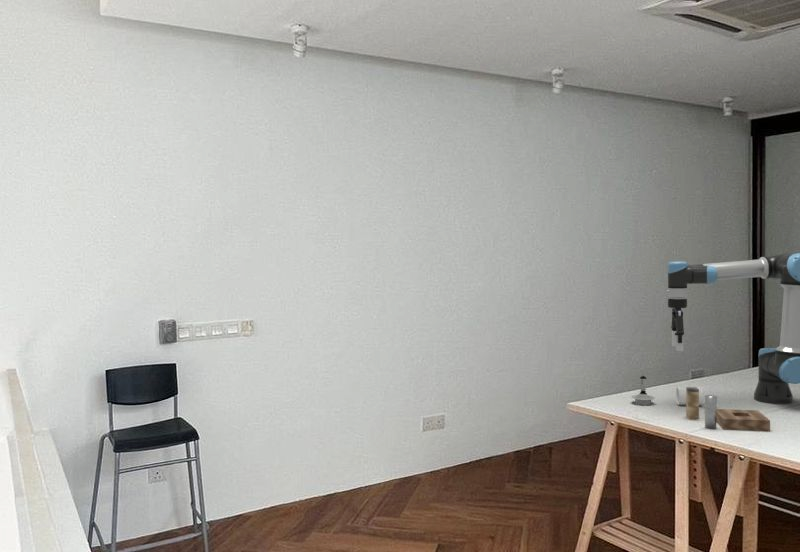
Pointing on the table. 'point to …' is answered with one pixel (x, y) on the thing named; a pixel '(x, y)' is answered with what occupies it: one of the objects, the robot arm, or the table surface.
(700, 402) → the mug
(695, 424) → the table surface
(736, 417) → the bore block
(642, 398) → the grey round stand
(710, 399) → the round bit
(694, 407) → the square bit
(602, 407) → the table surface
